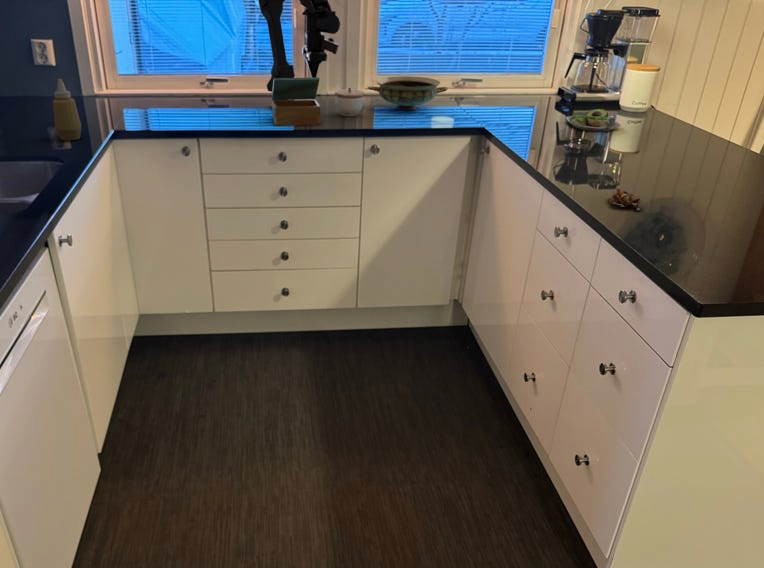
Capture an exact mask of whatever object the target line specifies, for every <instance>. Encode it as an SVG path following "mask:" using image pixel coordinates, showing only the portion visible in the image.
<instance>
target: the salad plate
mask: <svg viewBox="0 0 764 568" xmlns="http://www.w3.org/2000/svg"><path fill="white" fill-rule="evenodd" d="M565 121H566V123H567V124H568V125H569V126H571V127H572V128H575V129H578V130H580V131H585V132H608V131H613V130H615V129H617V128H620V127H621V123H619V122H617V121H616V118H615V117H612V116H609V112H608V110H606V109H604V108H595V109H591V110H588V111H587V112H586V114H585V115H579V114H575V115H570V116H567V117H566V118H565Z"/></svg>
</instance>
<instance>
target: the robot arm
mask: <svg viewBox="0 0 764 568" xmlns="http://www.w3.org/2000/svg"><path fill="white" fill-rule="evenodd" d="M297 1H298V2H299V3H300V5H301V6H302V7H303V8H305V9H304V11H302V13H301V15H302V16H304V17H305V33H304V37H305V44H304V45H303V46H302V47H301V54H302V55H306V56H304V60H305V63H306V65H307V68H308V71H309V73H310V78H314V77H317V75H318V71H319V67H320V65H321V64H322V62H327V61H328V54H327V53H326V51H327V52H330V53H332V54H334V55H337V53H338V50H339V48H340V45H339V44H338V43H336V42H335V39H334V38H333V37H328V38H325V35H324V34H323V33H325V34H331V35H335V34H337V33H338V32H339V30H340V27H341V21H340V18H339V16H338V15H336V13H337V12H336V10H332V6H331V4H330V2H329V0H297ZM285 2H286V0H258V5H259V9H260V13H261V15H262V16H263V18H264V19H265V20H266V23H267V31H268V36H269V41H270V43H269V44H270V48H271V55H272V61H273V63H272V66H271V70H270V78H269V81H268V82H267V83H266V90H267V92H270V93H272V92H273V82H274V78H296V74H295V67H294V64H290V63H289V62H288V59H287V53H286V52H287V51H286V46H285V39H284V32H283V27H282V20H281V17H282V14H283V11H284V3H285ZM270 106H271V107H272V104H271V105H270Z"/></svg>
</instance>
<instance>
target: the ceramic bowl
mask: <svg viewBox="0 0 764 568" xmlns="http://www.w3.org/2000/svg"><path fill="white" fill-rule="evenodd" d="M375 82H376V84H377V85H379V86H372V85H371V86H367V89H368V90H370V91H375V92H378V94H379V96H380V98H382V99H383V100H385V101H386V102H388V103H390V104H393V105H397V106H396V107H395V108H396V109H397V110H401V111H416V110H417V109H418V107H417V106H420V105H423V104H426V103H428V102H431V101H432V100H433V99H435V97H436V96H437V95H438V94H440V93H444V92H446V91H448V89H449V88H448V87H447V86H441V87H438V86H439V85H441V81H440V80H438V79H434V78H431V77H430V78H429V77H423V76H405V75H404V76H403V75H402V76H399V75H398V76H387V77H386V76H385V77H380V78H378V79H377V80H376V81H375Z"/></svg>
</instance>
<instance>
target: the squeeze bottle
mask: <svg viewBox="0 0 764 568" xmlns="http://www.w3.org/2000/svg"><path fill="white" fill-rule="evenodd" d="M52 104H53V105H52V107H53V118H54V129H55V131H56V133H57V135H58V137H59V139H60V140H61V141H67V142H70V141H71V142H72V141H76V140H79V139H80V138H81V133H82V123H81V118H80V115H79V112H78V108H77V104H76V100H75V99H74V98H72V95H71V91H70V90H67V89H66V86H65V84H64V81H63V79H62V78H58V79H57V90H56V91H54V99H53V100H52Z"/></svg>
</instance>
